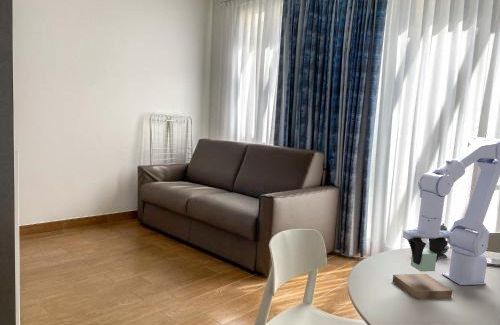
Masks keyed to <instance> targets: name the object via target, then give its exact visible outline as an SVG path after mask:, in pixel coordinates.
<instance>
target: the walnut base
mask: <svg viewBox="0 0 500 325" xmlns="http://www.w3.org/2000/svg"><path fill="white" fill-rule="evenodd" d="M392 275H393V276H392V282H394V284H396V285H397V286H399V287H400V288H401V289H402V290H403V291H405V292H406V293H408V294H409V295H410V296H412V297H413V298H414V299H416V300H421V299H422V300H424V299H443V298H444V299H445V298H452V295H453V289H451V288H449V287H448V286H446V284H445V285H444V284H443V283H442V282H440V281H438V280H437V279H435V278H434V277H432V276H430V275H429V274H427V273H410V274H409V273H407V274H406V273H405V274H403V273H402V274H392Z"/></svg>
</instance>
